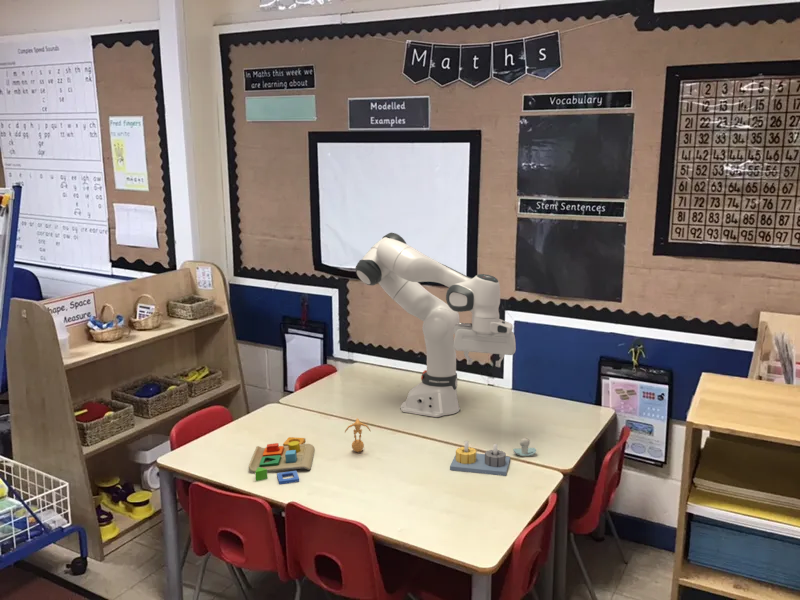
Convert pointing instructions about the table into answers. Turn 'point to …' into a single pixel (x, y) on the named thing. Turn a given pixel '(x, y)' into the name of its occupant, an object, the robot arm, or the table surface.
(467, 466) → the gear board
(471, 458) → the ochre gear
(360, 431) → the figurine
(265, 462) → the shape sorter
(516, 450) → the pacifier
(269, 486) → the table surface
